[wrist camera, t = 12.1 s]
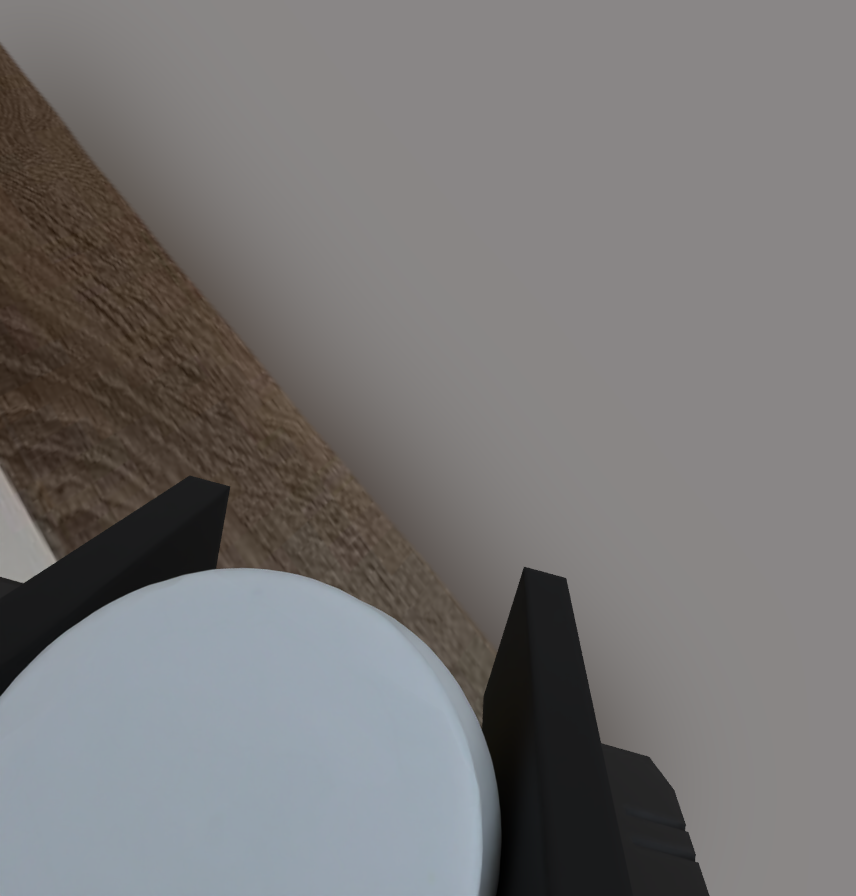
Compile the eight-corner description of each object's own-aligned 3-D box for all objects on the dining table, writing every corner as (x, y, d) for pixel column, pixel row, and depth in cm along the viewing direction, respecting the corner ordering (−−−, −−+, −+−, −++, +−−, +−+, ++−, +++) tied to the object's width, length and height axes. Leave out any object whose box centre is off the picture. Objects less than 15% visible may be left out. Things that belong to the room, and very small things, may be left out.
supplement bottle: (213, 657, 15) (23, 433, 6) (457, 704, 15) (595, 544, 6) (115, 964, 12) (-447, 1296, 4) (413, 1021, 12) (548, 1486, 4)
